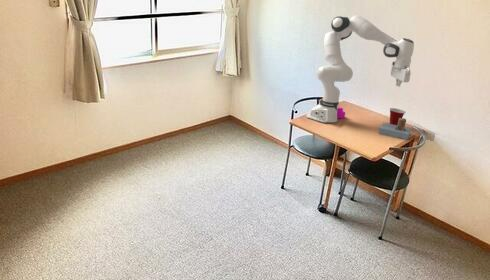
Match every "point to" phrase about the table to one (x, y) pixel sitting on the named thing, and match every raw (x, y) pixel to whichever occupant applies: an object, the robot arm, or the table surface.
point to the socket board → (394, 131)
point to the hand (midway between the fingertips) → (397, 86)
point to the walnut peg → (401, 124)
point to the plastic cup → (395, 115)
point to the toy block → (340, 113)
